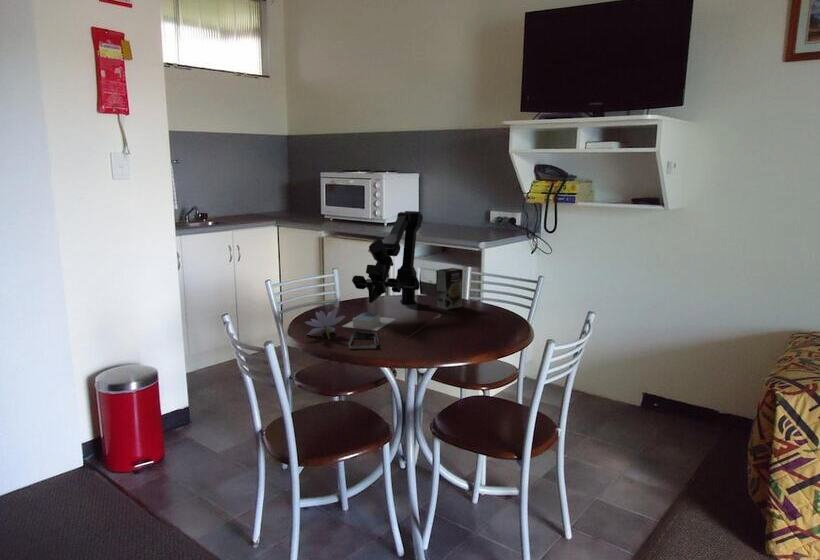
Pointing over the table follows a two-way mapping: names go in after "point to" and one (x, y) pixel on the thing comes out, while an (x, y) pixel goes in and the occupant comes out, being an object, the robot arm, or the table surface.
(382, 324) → the mat
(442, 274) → the coffee box
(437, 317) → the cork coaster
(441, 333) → the table surface
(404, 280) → the robot arm
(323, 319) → the water lily
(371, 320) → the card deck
